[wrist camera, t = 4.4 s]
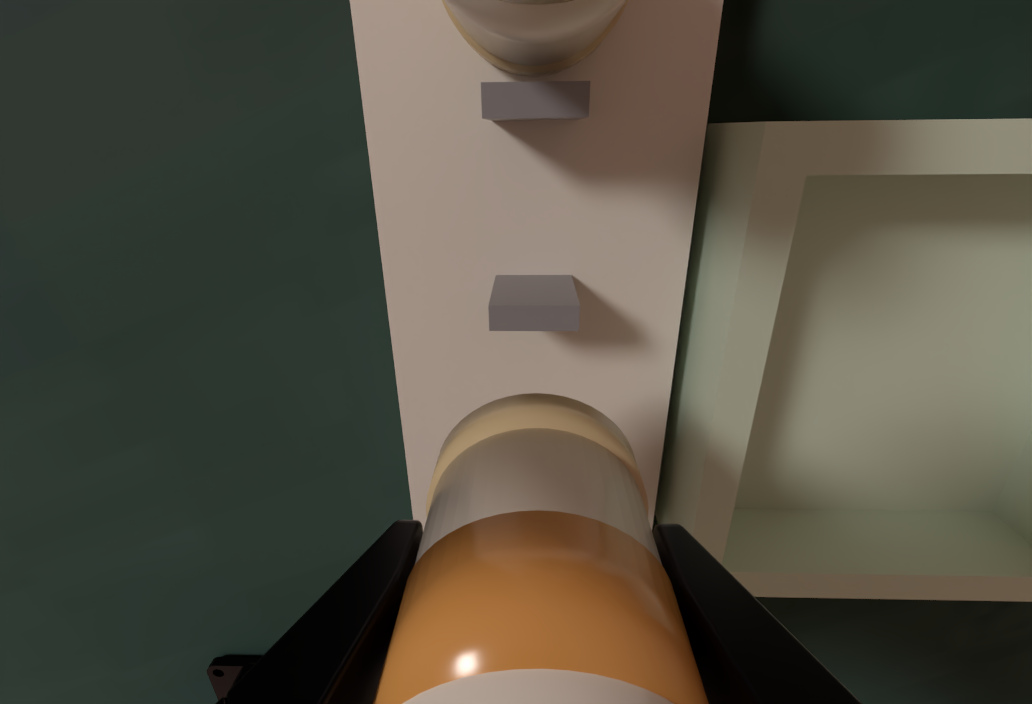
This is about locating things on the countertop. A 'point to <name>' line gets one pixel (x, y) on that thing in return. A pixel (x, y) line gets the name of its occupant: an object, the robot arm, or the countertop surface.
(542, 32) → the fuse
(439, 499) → the fuse marked
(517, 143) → the fuse holder
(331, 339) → the countertop surface
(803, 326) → the tray
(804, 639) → the countertop surface
